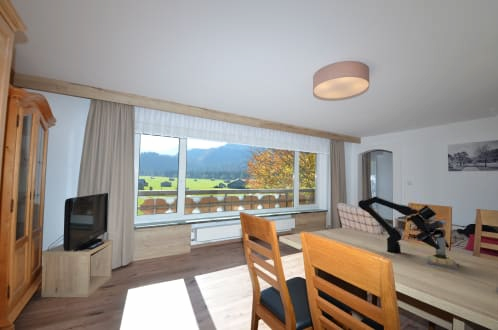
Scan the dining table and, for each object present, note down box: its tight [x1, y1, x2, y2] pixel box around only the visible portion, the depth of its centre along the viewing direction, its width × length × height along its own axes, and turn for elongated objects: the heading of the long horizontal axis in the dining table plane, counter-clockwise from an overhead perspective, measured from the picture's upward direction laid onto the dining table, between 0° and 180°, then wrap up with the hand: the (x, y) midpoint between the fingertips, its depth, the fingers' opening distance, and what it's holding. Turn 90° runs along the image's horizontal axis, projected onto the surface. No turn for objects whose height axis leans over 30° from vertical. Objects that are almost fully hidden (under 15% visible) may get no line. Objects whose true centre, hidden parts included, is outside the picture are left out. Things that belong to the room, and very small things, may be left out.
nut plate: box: [426, 253, 458, 270], centre depth 120 cm, size 12×12×4 cm
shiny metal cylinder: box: [434, 236, 447, 259], centre depth 121 cm, size 4×4×13 cm
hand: (443, 248), depth 119 cm, fingers open, 9 cm apart
